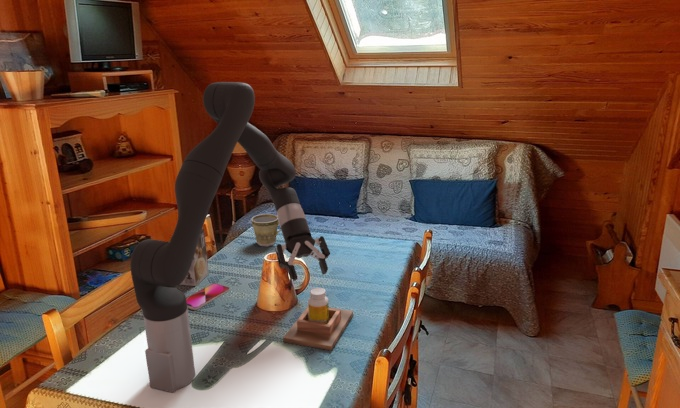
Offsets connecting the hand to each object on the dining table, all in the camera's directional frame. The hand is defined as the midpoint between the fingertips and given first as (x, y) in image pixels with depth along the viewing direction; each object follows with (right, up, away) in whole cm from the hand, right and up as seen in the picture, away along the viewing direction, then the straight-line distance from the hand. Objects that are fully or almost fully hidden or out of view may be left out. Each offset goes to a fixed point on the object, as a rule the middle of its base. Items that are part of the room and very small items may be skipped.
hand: (310, 276), depth 138 cm
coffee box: (-39, -5, +28) cm, 48 cm away
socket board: (+2, -13, -1) cm, 14 cm away
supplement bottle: (+2, -12, -1) cm, 13 cm away
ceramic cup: (-18, +4, +56) cm, 59 cm away
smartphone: (-33, -9, +17) cm, 38 cm away
